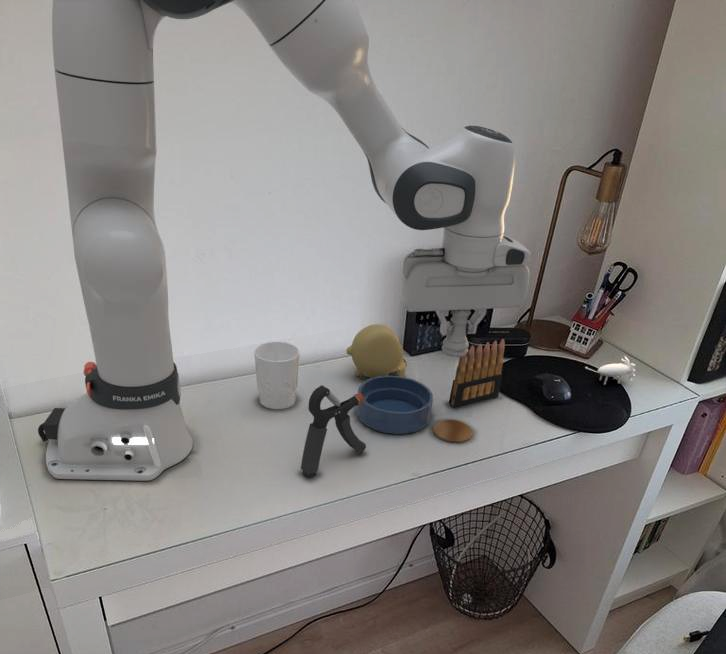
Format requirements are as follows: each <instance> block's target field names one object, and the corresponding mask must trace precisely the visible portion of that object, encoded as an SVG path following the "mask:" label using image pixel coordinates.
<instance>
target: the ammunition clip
mask: <svg viewBox="0 0 726 654" xmlns="http://www.w3.org/2000/svg"><path fill="white" fill-rule="evenodd" d="M505 344H506V343H505V339H504V338H502V339H501V340H500V343H499V345H498V342H497V340H496V339H495V340H494V341H493V343H492V345H491V346H490V342H489V341H487V342H486V344H485V346H484V348H483V345H482V343H479V344H478V346H477V348H476V351H475V345H471V346H470V348H469V349H468V352H467V354H465V355H464V356H461V357H459V360H458V363H457V366H456V371H455V376H454V379H453V380H452V385H451V389H450V395H449V400H448V405H449V406H451V407H452V408H453V409H457V408H461V407H466V406H469V405H473V404H474V405H475V404H477V403H480V402H481V403H482V402H485V401H489V400H493V399H496V398H499V395H500V390H501V383H502V378H503V373H502V369H503V364H504V353H505Z"/></svg>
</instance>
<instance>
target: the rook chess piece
mask: <svg viewBox="0 0 726 654" xmlns="http://www.w3.org/2000/svg"><path fill="white" fill-rule="evenodd" d="M450 313H451V314H452V317H451V318H450V323H451V324H452V325H453V329H452V334H451V335H445V336H446V337H445V338H444V339H443V340H442V346H441V351H442V352H443V353H444V354H445V355H447V356H449V357H454V358H460V357H461V356H464V355H465V354H467V355H468V353H469V347H470V345H469V341H468V337H467V334H466V324H467V322H468V320H469V319H468V317H469V316H470V315H471V314H472V312H471V309H467V310H450Z"/></svg>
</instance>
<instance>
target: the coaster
mask: <svg viewBox="0 0 726 654" xmlns="http://www.w3.org/2000/svg"><path fill="white" fill-rule="evenodd" d="M432 433H433V435H434V436H435V437H437V438H438V439H439V440H441V441H444V442H446V443H454V444H460V443H464V442H467V441H469V440H470V439H472V437H473V430H472V428H471V427H470V426H469V425H468V424H467V423H465V422H462V421H460V420H455V419H442V420H439V421H437V422H436V423H434V425H433V426H432Z"/></svg>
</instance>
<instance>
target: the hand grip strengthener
mask: <svg viewBox="0 0 726 654" xmlns="http://www.w3.org/2000/svg"><path fill="white" fill-rule="evenodd" d="M324 398H326V399H328V400H329V402H330V403H332V404H333V405H332V406H329V407H326V408H323V409H322V408H321V405H322V401H323V399H324ZM363 402H364V397H363V395H362V394H361V393H358V392H357V393H356V394H354V395H352V396H351V397H350V398H348V399H346V400H343V401H341V400H340V399H339V398H338V397H337V396H335V394H334V393H332V391H331V390H330V389H329V388H328V387H326V386H324V385H322V384H321V385H319V386H318V387H316V388H314V390H313V391H312V393H311V395H310V397H309V400H308V407H307V408H308V412H309V414H311V415H312V418H313V421H312V422H311V423H309V426H308V431H307V434H306V438H305V442H304V447H303V452H302V458H301V463H300V470H302V474H303V475H304V476H305V477H306V478H307V479H309V478H311V477H314V476H317V473H318V471H319V467H320V461H321V456H322V452H323V447H324V443H325V440H326V436H327V431H328V428H327V426H328V424H329V422H330V420H332V419H333V418H334V422H335V427H336V429H337V431H338V433H339V434H340V436H341V438H342V439H343V440H344V442H345V444H347V445H348V446H349V447H350V448H351V449H353V450H354V451H356V452H358V453H360V454H363V452H364V451H365V450H366V448H367V444H366V443H365V442H364V441H363V440H361V439H360V438H359V437H358V435H356V433H355V432H354V430H353V428H352V426H351V416H350V415H349V412H350V411H351V410H352V409H353V408H355V407H357V405H360V404H362V403H363Z"/></svg>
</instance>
